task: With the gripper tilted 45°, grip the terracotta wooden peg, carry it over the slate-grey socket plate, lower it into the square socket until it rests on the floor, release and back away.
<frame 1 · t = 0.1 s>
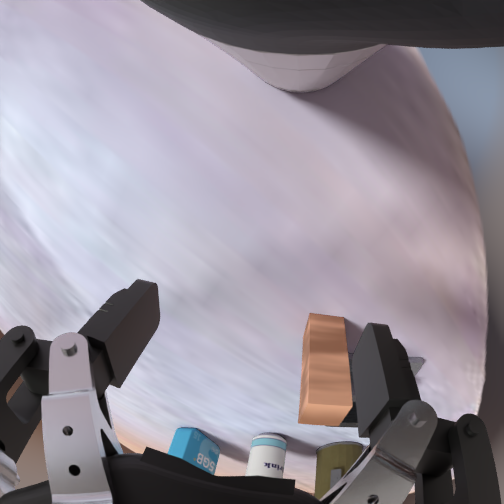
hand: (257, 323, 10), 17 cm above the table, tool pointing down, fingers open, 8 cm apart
terracotta peg: (322, 327, 32), on the table
socket plate: (362, 385, 37), on the table
beverage can: (270, 436, 49), on the table
canister: (339, 448, 49), on the table
data package: (200, 436, 54), on the table
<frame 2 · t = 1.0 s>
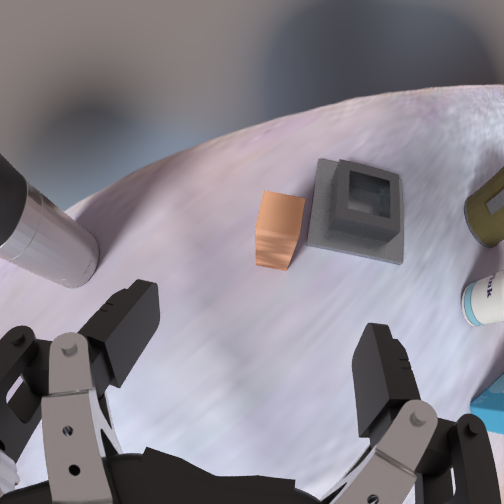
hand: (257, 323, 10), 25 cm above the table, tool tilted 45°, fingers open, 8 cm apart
terracotta peg: (273, 253, 38), on the table
socket plate: (358, 210, 40), on the table
beverage can: (471, 305, 35), on the table
canister: (481, 221, 39), on the table
data package: (490, 397, 29), on the table
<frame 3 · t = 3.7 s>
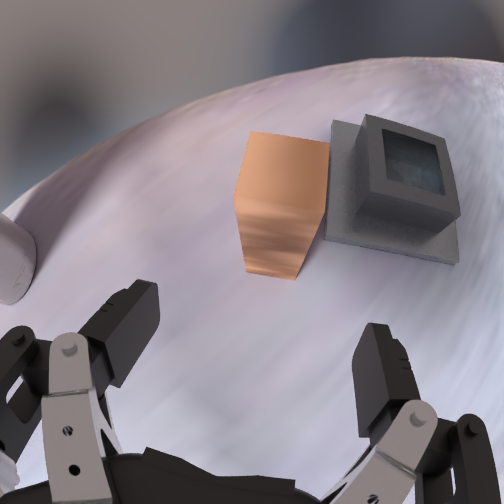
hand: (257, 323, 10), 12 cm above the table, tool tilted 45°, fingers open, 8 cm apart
terracotta peg: (274, 253, 24), on the table
socket plate: (394, 188, 26), on the table
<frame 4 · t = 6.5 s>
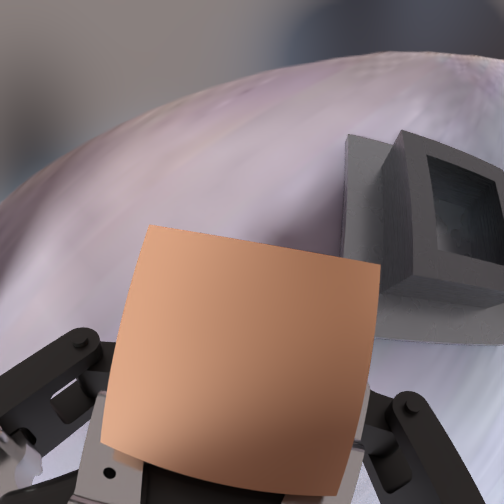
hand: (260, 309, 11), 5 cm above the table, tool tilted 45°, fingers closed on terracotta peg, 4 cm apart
terracotta peg: (254, 356, 15), on the table, touching gripper
socket plate: (433, 241, 17), on the table
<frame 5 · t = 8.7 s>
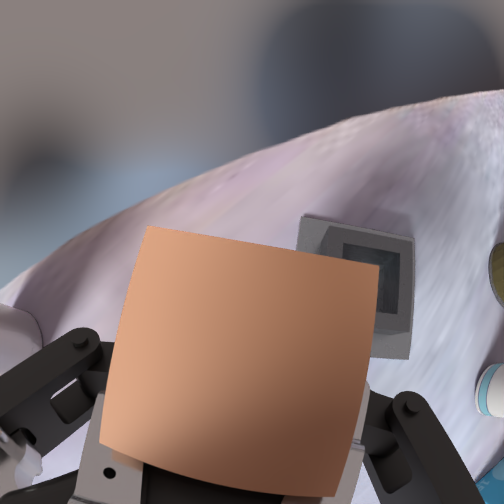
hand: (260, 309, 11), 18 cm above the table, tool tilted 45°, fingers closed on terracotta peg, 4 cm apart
terracotta peg: (254, 356, 15), point 13 cm above the table, touching gripper
socket plate: (354, 290, 29), on the table
beverage can: (486, 389, 24), on the table
data package: (493, 475, 19), on the table
when the fingers open (7 cm above the table, at t = 11.4 s): terracotta peg drops 1 cm, resting on socket plate.
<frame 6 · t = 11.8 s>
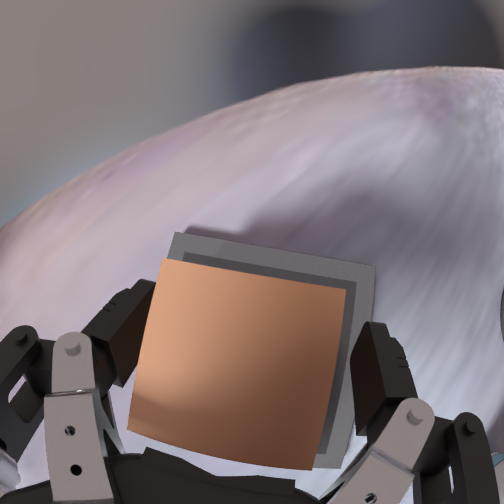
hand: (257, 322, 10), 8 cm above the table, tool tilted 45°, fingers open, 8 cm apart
terracotta peg: (252, 356, 17), point 1 cm above the table, touching socket plate
socket plate: (255, 355, 18), on the table
beverage can: (472, 482, 12), on the table
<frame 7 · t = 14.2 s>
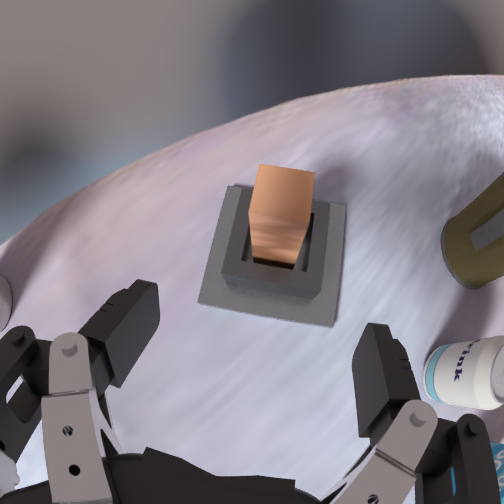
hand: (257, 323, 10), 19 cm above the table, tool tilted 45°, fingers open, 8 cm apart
terracotta peg: (275, 251, 30), point 1 cm above the table, touching socket plate
socket plate: (276, 253, 31), on the table
beverage can: (440, 373, 26), on the table
canister: (466, 252, 31), on the table
data package: (456, 475, 20), on the table
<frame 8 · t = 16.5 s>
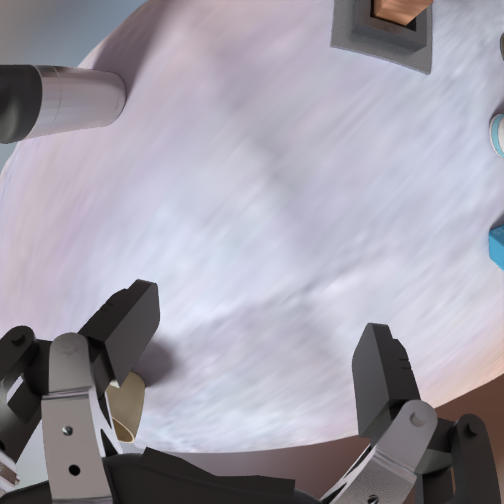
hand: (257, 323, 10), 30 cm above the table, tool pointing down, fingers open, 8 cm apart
terracotta peg: (384, 15, 24), point 1 cm above the table, touching socket plate
socket plate: (384, 17, 25), on the table
beverage can: (499, 135, 28), on the table
plant pot: (132, 378, 63), on the table
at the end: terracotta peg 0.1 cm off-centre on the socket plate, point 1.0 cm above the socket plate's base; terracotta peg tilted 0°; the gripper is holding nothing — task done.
